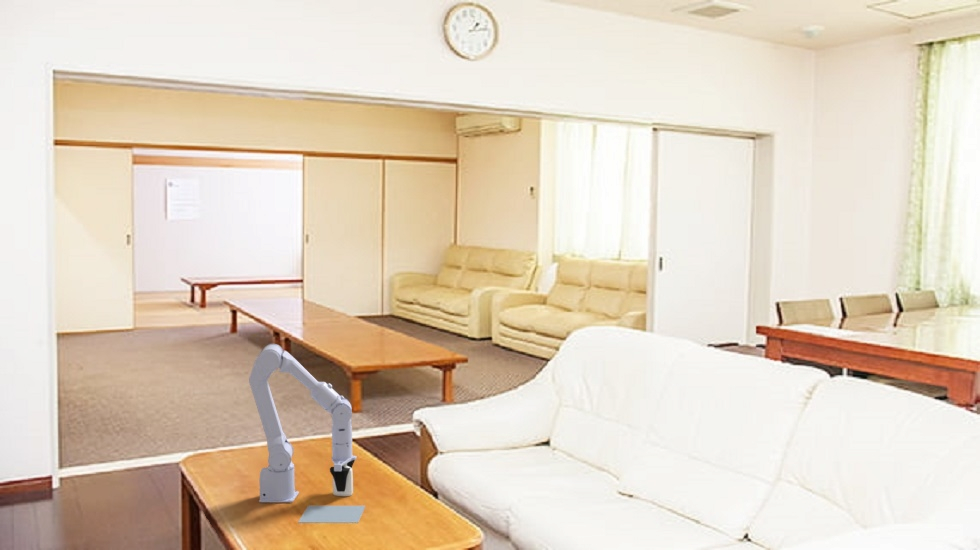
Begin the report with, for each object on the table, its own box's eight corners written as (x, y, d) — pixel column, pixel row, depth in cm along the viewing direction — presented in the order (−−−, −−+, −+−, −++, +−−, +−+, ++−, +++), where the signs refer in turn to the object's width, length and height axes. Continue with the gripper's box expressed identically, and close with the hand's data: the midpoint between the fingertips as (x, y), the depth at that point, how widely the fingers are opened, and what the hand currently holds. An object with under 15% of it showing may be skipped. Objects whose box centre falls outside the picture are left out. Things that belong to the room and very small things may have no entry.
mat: (297, 522, 215) (297, 522, 215) (308, 505, 227) (308, 505, 227) (358, 522, 215) (358, 522, 215) (365, 506, 227) (365, 505, 227)
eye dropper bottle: (344, 498, 233) (343, 457, 232) (330, 494, 236) (330, 454, 235) (355, 494, 236) (354, 454, 235) (342, 490, 239) (341, 450, 238)
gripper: (351, 449, 227) (352, 496, 229) (360, 434, 242) (361, 479, 243) (326, 449, 227) (327, 496, 229) (336, 434, 242) (337, 479, 243)
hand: (343, 487), depth 236 cm, fingers open, 5 cm apart
